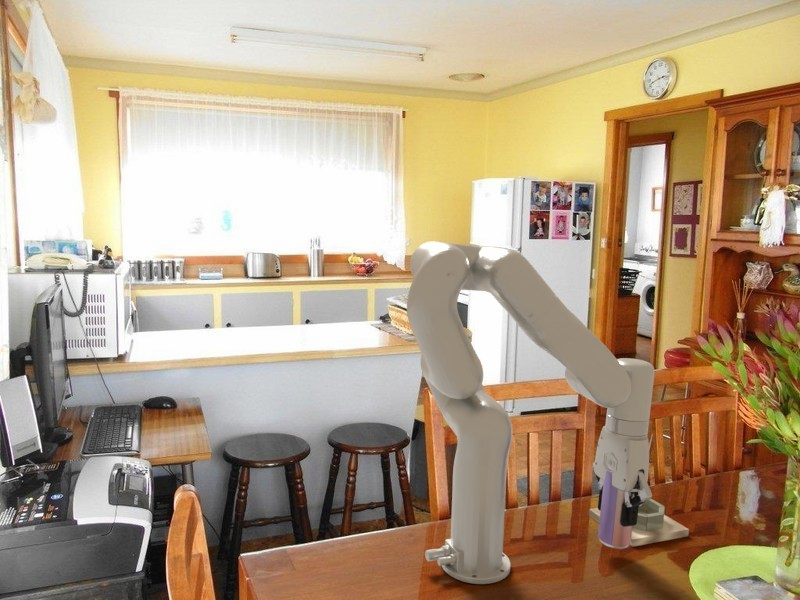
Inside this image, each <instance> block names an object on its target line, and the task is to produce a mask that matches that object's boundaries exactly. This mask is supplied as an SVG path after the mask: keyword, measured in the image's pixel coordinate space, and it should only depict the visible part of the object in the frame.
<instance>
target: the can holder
mask: <svg viewBox="0 0 800 600" xmlns="http://www.w3.org/2000/svg"><path fill="white" fill-rule="evenodd" d="M588 517H590V518H591V519H593V520H594V521H596V522H597V523H598V524H599V521H600V510H598V507H595V508H590V509H588ZM689 531H690V529H689V528H687V527H686V526H684V525H683V524H681V523H679V522H677V521H676V520H674V519H673V518H671V517H669V516H668V515H666V514H665V505H663V504H661V503H659V502H658V501H656V500H654V499H652V498H649V499H648V500H646V501H645V502H644V503H642V505H641V506H639V508H638V517H637V524H636V525H634V526H633V527H632V535H631V543H630V544H629V546H631V547H633V548H634V547H638V546H644V545H649V544H653V543H654V544H655V543H659V542H665V541H670V540H677V539H682V538H687V537H689V533H690V532H689Z"/></svg>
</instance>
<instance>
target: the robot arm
mask: <svg viewBox="0 0 800 600" xmlns="http://www.w3.org/2000/svg"><path fill="white" fill-rule="evenodd" d="M409 261H410V262H409V268H410V272H411V275H412V277H413V280H412V281H411V283H410V286H409V290H408V295H407V299H406V300H407V301H406V316H407V319H408V323H409V324H408V325H409V327H410V329H411V332H412V334H413V336H414V339H415V341H416V343H417V346H418V348H419V350H420V353H421V354H420V368H421V369H420V370H421V373H422V374H423V377H424V379H425V381H426V383H427V384H426V385H428V388H429V390H430V392H431V394H432V396H433V398H434V400H435V402H436V404H437V407H438V408H439V411H440V412H441V414H442V417H443V418H444V421H445V422H446V424H447V425H448V427H450V429H451V430H452V432H453V433H454V435H455V436H456V440H457V444H456V452H455V456H454V460H453V469H452V470H453V471H452V490H451V491H452V495H451V497H452V500H451V516H450V517H451V522H450V526H451V527H450V538H447V539H445V541H444V542H445V545H441V546H440V548H432V549H426V550H425V551H424V556H425V560H426V562H432V561H436V562H437V566H439V567H442V569H443V571H444V572H445V573H446V574H447V575H449V576H450V577H452V578H454V579H455V580H458V581H461V582H464V583H468V584H475V585H488V584H494V583H495V584H496V583H499V582H500V581H502V580H503V579H506V577H508V576H509V575H510V573H511V559H510V558H509V557H508V556H507V555H506V554H505V553H504V552H503V549H504V533H505V532H504V530H505V529H504V528H505V512H506V511H505V510H506V489H507V473H508V472H507V471H508V462H509V455H510V450H511V445H512V441H513V434H514V433H513V432H514V431H513V424H512V421H511V417H510V416H509V414H508V411H507V410H506V409H505V408H504V407H503V406H502V405H501V404H500V402H498V401H497V400H496V399H494V398H493V397H492V396H490V395H489V394H488V393H487V391H486V390H485V387H484V386H483V381H484V370H483V369H484V368H483V365H482V361H481V359H480V357H479V356H478V354H477V353H476V350H475V348H474V346H473V344H472V343H471V340H470V338H469V336H468V334H467V331H466V330H465V328H464V327H465V326H464V324H463V322H462V320H461V317H460V315H459V311H458V299H459V296H460V293H461V291H462V290H463V291H476V292H477V291H478V292H487V293H490V295H492V296H493V297H494V299H495V300H496V301H497V302H498V303H499V305H500V306H501V307H502V308H503V309H504V310H505V311H506V312H507V313H508V315H509V316H510V318H512V319H513V321H514V322H515V323H516V324H517V325H518V327H519V328H520V329H521V331H522V332H523V333H524V334H525V335H526V336H527V337H528V339H529V340H531V341H532V342H533V343H534V344H536V345H537V347H539V348H540V349H542V350H543V351H544V352H546V353H548V354H549V355H550V356H552V358H554V359H555V360H557V361H558V362H559V363H560V364H562V365H563V366H564V367H565V370H564V371H565V372H564V377H565V380H566V382H567V384H568V386H569V387H570V388H571V390H573V391H575V392H576V393H578V394H579V395H581V396H582V397H583V398H586V399H588V400H589V401H591V402H593V403H594V404H596V405H598V406H600V407H601V408H607V409H606V414H605V416H606V417H605V425H603V427H602V429H601V431H600V435H599V437H598V441H597V445H596V446H597V447H596V453H595V459H594V462H593V463H592V467H593V471H594V474H595V477H596V480H597V482H598V483H597V488H598V489H599V493H598V494H599V495H598V502H597V508H598V510H600V511H601V502H602V493H603V483H604V480H605V476H606V471H607V470H608V471H609V469H610V468H612V470H611V469H610V470H611V471H610V472H612V473H611V474H612V485H613V486H614V487H616V488H617V489H619V490H621V491H623V492H624V496H625V503H626V505H623V507H622V516H621V525H622V526H623V527H627V526H634V525H636V524H637V517H638V508H639V506H641V505H642V503H644V502H645V501H646V500H648V499H649V498H650V499H652V497H653V493H652V491H651V488H650V486H649V484H648V479H649V468H650V443H649V438H648V431H649V424H650V418H651V417H650V416H651V407H652V400H653V398H652V397H653V390H654V389H653V388H654V380H655V372H656V371H655V367H654V365H653V364H652V363H651V362H649V361H646V360H643V359H638V358H629V357H628V358H627V357H625V358H624V357H623V358H622V357H621V358H616V356H615V355H614V354H613V353H612V351H610V349H609V348H608V347H607V345H605V344H604V342H602V341H601V340H600V339H599V338H598V336H596V335H595V334H594V333H593V332H592V330H591V329H589V328H588V327H587V326H586V325H585V324H584V323H583V322H582V321H581V320H580V319H579V318H578V317H577V316H576V315H575V314H574V313H573V312H572V311H571V310H570V309H569V308H568V307H567V306H566V305H565V304H564V302H563V301H561V299H560V298H559V296H557V295H556V293H555V292H554V291H553V289H552V288H551V287H550V286H549V285H548V283H547V282H546V281H545V280H544V279H543V277H542V276H541V275H540V274H539V272H538V271H537V270H536V269H535V268H534V266H533V265H532V264H531V262H530V261H529V260H528V259H527V258H526V257H525V256H524V255H523V254H521V253H520V252H519V251H517V250H514V249H511V248H504V247H498V246H485V245H484V246H483V245H472V244H471V245H469V244H461V243H451V242H442V241H436V240H435V241H433V240H432V241H426V242H425V243H422V244H420V245H419V246H418V247H417V248H415V250H414V251H413V253H412V254H411V257H410V260H409ZM608 467H610V468H608ZM634 486H635V488H634ZM631 492H634V497H633V498H632V499H631Z"/></svg>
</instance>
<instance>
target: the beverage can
mask: <svg viewBox="0 0 800 600" xmlns="http://www.w3.org/2000/svg"><path fill="white" fill-rule="evenodd" d="M608 468H610V467H608ZM610 469H611V470H612V468H610ZM610 469H609V471H608V470H607V471H606V476H605V480H604V483H603V493H602V502H601V511H600V521H599V523H598V532H597V538H598V539H599V541H600V542H601V543H602V544H603V545H604V546H606V547H608V548H613V549H618V550H619V549H620V550H621V549H626V548H628V547H629V546H630V543H631V535H632V527H633V526H627V527H623V526H622V525H621V516H622V507H623V505H626V503H625V496H624V492H623V491H621V490H619V489H617V488H616V487H614V486H613V485H612V474H611V473H612V472H610V471H611V470H610ZM634 488H635V486H634ZM633 497H634V492H631V499H632V498H633Z"/></svg>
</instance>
